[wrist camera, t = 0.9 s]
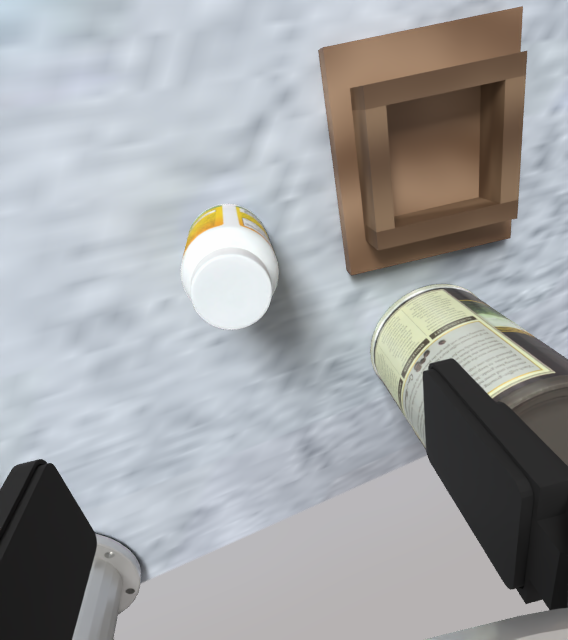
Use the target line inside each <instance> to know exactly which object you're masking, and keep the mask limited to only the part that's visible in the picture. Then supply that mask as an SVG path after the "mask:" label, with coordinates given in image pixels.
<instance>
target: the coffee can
mask: <svg viewBox="0 0 568 640" xmlns="http://www.w3.org/2000/svg"><path fill="white" fill-rule="evenodd" d="M370 353H371V361H372V364H373V368H374V370H375V372H376V374H377V375H378V377H379V378H380V379H381V380H382V381H383V383H384V385H385V386H386V388H387V389H388V391H389V392H390V394H391V396H392V397H393V399H394V401H395V402H396V403H397V405H398V406H399V408H400V410H401V411H402V413H403V415H404V416H405V418H406V419H407V421H408V422H409V424H410V425H411V426H412V428H413V430H414V431H415V433H416V435H417V436H418V438H419V440H420V441H421V443H422V444H423V446H424V447H425V449H426V438H425V417H424V397H423V371H425V370H428V366H429V364H430V363H433V362H437V361H441V360H445V359H450V358H453V359H454V360H456V361H457V362H458V363H459V364H460V365H461V366H462V368H463V369H464V370H465V371H466V372H467V373H468V374H469V375H470V376H471V377H472V378H473V379H474V380H475V381H476V382H477V383H478V384H479V385H480V386H481V387H482V388H483V389H484V390H485V391H486V392H487V394H488V395H489V396H490V397H491V398H492V399H493V400H494V401H495V402H498V401H500V402H503V403H505V404H506V405H507V406H509V407H510V408H511V409H512V410H513V411H514V412H515V413H516V414H517V415H518V416H519V417H520V418H521V419H522V420H523V421H524V422H525V423H526V424H527V425H528V426H529V427H530V428H531V429H532V430H533V431H534V432H535V433H536V434H537V435H538V437H539V438H540V439H541V440H542V441H543V442H544V443H545V444H546V445H547V446H548V447H549V448H550V449H551V450H552V451H553V452H554V453H555V454H556V455H557V456H558V457H559V458H560V459H561V460H562V461H563V462H564V463H565V464H566V465H567V466H568V359H566V358H565V357H564V356H562V355H561V354H559V353H558V352H556V351H555V350H553V349H552V348H550V347H549V346H547V345H546V344H544V343H543V342H541V341H540V340H538V339H537V338H535V337H534V336H533V335H531V334H530V333H528V332H527V331H525V330H524V329H522V328H521V327H520V326H518V325H517V324H515V323H514V322H512V321H511V320H509V319H508V318H506V317H505V316H503V315H502V314H500V313H499V312H497V311H496V310H494V309H493V308H491V307H490V306H489V305H487V304H486V303H484V302H483V301H481V300H480V299H479V298H477V297H476V296H475V295H474V294H473V293H472V292H470V291H468V290H467V289H464V288H462V287H459V286H455V285H449V284H436V285H429V286H426V287H422V288H419V289H417V290H414V291H412V292H410V293H409V294H407V295H405V296H403V297H402V298H401V299H399V300H398V301H397V302H395V303H394V304H393V305H392V306H391V307H390V308H389V309H388V310H387V311H386V313H385V314H384V316H383V317H382V318H381V319H380V321H379V323H378V325H377V327H376V329H375V331H374V334H373V338H372V342H371V350H370Z"/></svg>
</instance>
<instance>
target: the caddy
mask: <svg viewBox="0 0 568 640" xmlns="http://www.w3.org/2000/svg"><path fill="white" fill-rule="evenodd" d="M522 13H523V6H522V7H517V8H512V9H508V10H503V11H498V12H493V13H488V14H483V15H478V16H474V17H469V18H464V19H459V20H454V21H449V22H444V23H440V24H435V25H430V26H425V27H420V28H415V29H410V30H406V31H401V32H396V33H391V34H386V35H381V36H376V37H371V38H367V39H362V40H357V41H352V42H347V43H342V44H337V45H333V46H328V47H323V48H321V49H320V50H318V52H319V60H320V67H321V75H322V83H323V91H324V98H325V106H326V114H327V122H328V129H329V137H330V145H331V153H332V160H333V168H334V176H335V184H336V191H337V199H338V207H339V215H340V222H341V230H342V238H343V246H344V253H345V261H346V269H347V271H348V272H349V273H350V274H351V275H355V274H359V273H364V272H368V271H372V270H376V269H381V268H385V267H389V266H393V265H398V264H402V263H406V262H410V261H415V260H419V259H423V258H427V257H432V256H436V255H440V254H444V253H449V252H453V251H457V250H461V249H466V248H470V247H474V246H478V245H483V244H487V243H491V242H495V241H500V240H504V239H508V238H510V236H511V220H512V219H516V218H517V213H518V197H519V180H520V163H521V146H522V130H523V113H524V96H525V79H526V63H527V51H524V52H520V50H521V31H522Z"/></svg>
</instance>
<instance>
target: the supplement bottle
mask: <svg viewBox="0 0 568 640" xmlns="http://www.w3.org/2000/svg"><path fill="white" fill-rule="evenodd" d="M278 278H279V268H278V262H277V258H276V255H275V253H274V250H273V248H272V245H271V243H270V241H269V238H268V236H267V233H266V231H265V228H264V227H263V225H262V223H261V222H260V220H259V219H258V218H257V217H256V216H255V215H254V214H253V213H252V212H251V211H249V210H248V209H246V208H244V207H241V206H238V205H234V204H220V205H216V206H213V207H211V208H209V209H207V210H205V211H204V212H203V213H201V214H200V215H199V216H198V217H197V218H196V220H195V221H194V223H193V224H192V226H191V228H190V231H189V234H188V238H187V243H186V247H185V251H184V255H183V259H182V264H181V280H182V285H183V288H184V290H185V292H186V294H187V296H188V298H189V299H190V300H191V302H192V304H193V306H194V308H195V310H196V311H197V313H198V314H199V316H200V317H201V318H202V319H203V320H204V321H206V322H207V323H209V324H210V325H212V326H214V327H217V328H220V329H225V330H237V329H242V328H245V327H248V326H250V325H252V324H254V323H255V322H257V321H258V320H259V319H260V318H261V317H262V316H263V315H264V314H265V313H266V311H267V309H268V307H269V305H270V302H271V298H272V296H273V294H274V292H275V289H276V287H277V283H278Z"/></svg>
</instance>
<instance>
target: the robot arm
mask: <svg viewBox="0 0 568 640" xmlns="http://www.w3.org/2000/svg"><path fill="white" fill-rule="evenodd" d="M423 397H424V417H425V438H426V451H427V455H428V458H429V460H430V463H431V464H432V466H433V467H434V469H435V471H436V473H437V474H438V476H439V477H440V479H441V481H442V482H443V484H444V486H445V487H446V489H447V491H448V492H449V494H450V495H451V497H452V499H453V500H454V502H455V503H456V505H457V507H458V508H459V510H460V512H461V513H462V515H463V517H464V518H465V520H466V522H467V523H468V525H469V526H470V528H471V530H472V531H473V533H474V535H475V536H476V538H477V540H478V541H479V543H480V544H481V546H482V547H483V549H484V551H485V553H486V554H487V556H488V558H489V559H490V561H491V562H492V564H493V566H494V567H495V569H496V571H497V572H498V574H499V576H500V577H501V579H502V580H503V582H504V583H505V585H506V586H507V587H508V588H509V589H515V588H516V589H517V591H518V592H519V594H520V595H521V597H522V599H523V600H524V602H525V603H526V604H528V603H531V602H535V601H538V600H542V599H543V601H544V602H545V604H546V605H547V607H548V608H549V611H544V612H539V613H533V614H528V615H523V616H517V617H514V618H510V619H506V620H502V621H498V622H493V623H489V624H486V625H481V626H477V627H474V628H469V629H465V630H461V631H457V632H453V633H449V634H445V635H441V636H437V637H434V638H430V639H426V640H568V466H567V465H566V464H565V463H564V462H563V461H562V460H561V459H560V458H559V457H558V456H557V455H556V454H555V453H554V452H553V451H552V450H551V449H550V448H549V447H548V446H547V445H546V444H545V443H544V442H543V441H542V440H541V439H540V438H539V437H538V435H537V434H536V433H535V432H534V431H533V430H532V429H531V428H530V427H529V426H528V425H527V424H526V423H525V422H524V421H523V420H522V419H521V418H520V417H519V416H518V415H517V414H516V413H515V412H514V411H513V410H512V409H511V408H510V407H509V406H507V405H506V404H505V403H503V402H500V401H498V402H495V401H494V400H493V399H492V398H491V397H490V396H489V395H488V394H487V392H486V391H485V390H484V389H483V388H482V387H481V386H480V385H479V384H478V383H477V382H476V381H475V380H474V379H473V378H472V377H471V376H470V375H469V374H468V373H467V372H466V371H465V370H464V369H463V368H462V366H461V365H460V364H459V363H458V362H457V361H456V360H454V359H453V358H450V359H445V360H441V361H437V362H433V363H430V364H429V366H428V370H425V371H423ZM140 582H141V568H140V564H139V562H138V560H137V559H136V557H135V556H134V555H133V553H132V552H131V551H130V550H129V549H128V548H126V547H125V546H123V545H122V544H121V543H119V542H117V541H115V540H113V539H111V538H109V537H105V536H102V535H99V534H95V532H94V531H93V529H92V527H91V526H90V524H89V522H88V521H87V519H86V517H85V516H84V514H83V512H82V511H81V509H80V507H79V506H78V504H77V502H76V501H75V499H74V497H73V496H72V494H71V492H70V491H69V489H68V487H67V486H66V484H65V482H64V481H63V479H62V477H61V476H60V474H59V472H58V471H57V469H56V467H55V466H54V465H53V464H52V463H48V464H47V462H46V461H44V460H43V459H39V460H35V461H31V462H27V463H23V464H19V465H16V466H14V467H13V469H12V470H11V472H10V473H9V475H8V477H7V479H6V481H5V482H4V484H3V486H2V488H1V489H0V640H114V639H113V637H114V631H115V626H116V621H117V616H118V614H120V613H121V612H122V611H124V610H125V609H126V608H128V607H129V605H130V604H131V603H132V602H133V601H134V600H135V598H136V596H137V594H138V592H139V588H140Z"/></svg>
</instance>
